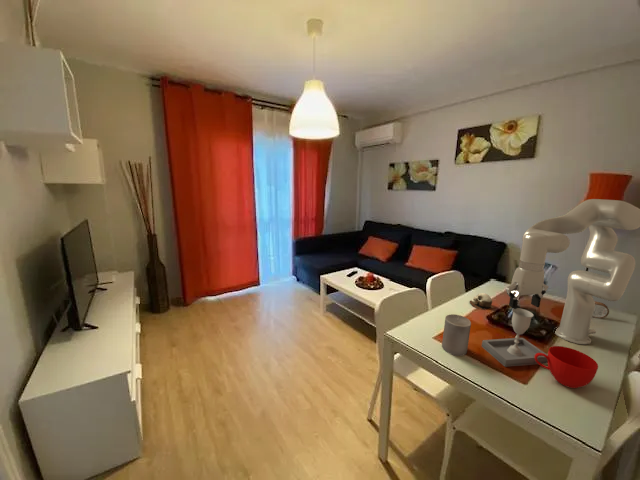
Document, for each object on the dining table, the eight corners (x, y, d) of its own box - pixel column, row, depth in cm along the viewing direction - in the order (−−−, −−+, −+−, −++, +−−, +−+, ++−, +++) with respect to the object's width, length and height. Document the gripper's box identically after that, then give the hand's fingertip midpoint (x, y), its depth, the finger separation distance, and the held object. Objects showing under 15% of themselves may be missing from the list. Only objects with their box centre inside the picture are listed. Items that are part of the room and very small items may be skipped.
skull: (463, 301, 158) (473, 287, 159) (471, 310, 162) (481, 296, 163) (482, 309, 147) (492, 294, 148) (490, 319, 151) (500, 304, 152)
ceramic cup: (525, 362, 107) (530, 340, 105) (580, 374, 101) (587, 351, 99) (536, 385, 96) (542, 360, 93) (599, 400, 89) (607, 374, 87)
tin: (605, 318, 143) (609, 303, 141) (607, 320, 140) (612, 305, 138) (568, 310, 151) (571, 296, 149) (569, 312, 148) (572, 298, 146)
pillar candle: (447, 339, 122) (450, 309, 119) (470, 349, 115) (475, 317, 112) (438, 349, 116) (441, 317, 112) (462, 359, 109) (467, 326, 105)
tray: (521, 343, 120) (522, 337, 119) (548, 363, 107) (550, 356, 106) (481, 346, 117) (482, 340, 117) (504, 366, 105) (506, 359, 104)
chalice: (528, 359, 108) (537, 318, 104) (509, 356, 109) (517, 315, 105) (519, 347, 115) (527, 309, 111) (501, 345, 116) (508, 307, 112)
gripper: (542, 261, 108) (535, 301, 112) (502, 263, 106) (496, 303, 110) (561, 267, 101) (552, 309, 105) (518, 270, 99) (511, 312, 103)
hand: (523, 306), depth 108 cm, fingers open, 9 cm apart
